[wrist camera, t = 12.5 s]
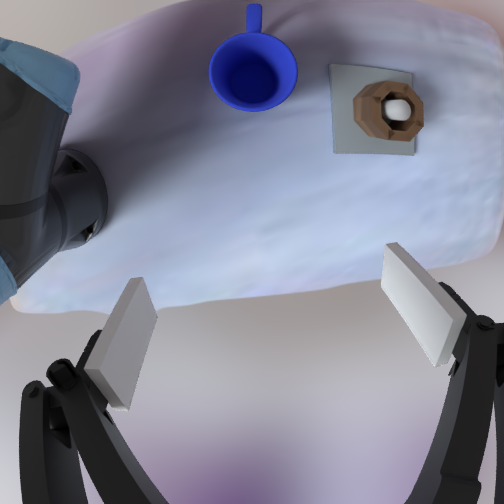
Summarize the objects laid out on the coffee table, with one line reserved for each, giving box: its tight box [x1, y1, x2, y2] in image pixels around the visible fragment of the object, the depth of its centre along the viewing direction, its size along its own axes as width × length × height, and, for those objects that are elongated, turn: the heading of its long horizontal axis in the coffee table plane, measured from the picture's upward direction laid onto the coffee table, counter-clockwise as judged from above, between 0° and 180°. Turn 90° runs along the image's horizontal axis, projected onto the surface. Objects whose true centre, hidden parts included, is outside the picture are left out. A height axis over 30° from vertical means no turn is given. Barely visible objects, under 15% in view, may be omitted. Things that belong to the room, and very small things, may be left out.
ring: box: [353, 81, 424, 142], centre depth 29 cm, size 7×7×6 cm
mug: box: [209, 4, 298, 112], centre depth 26 cm, size 8×12×10 cm
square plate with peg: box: [328, 64, 414, 156], centre depth 29 cm, size 12×12×8 cm
